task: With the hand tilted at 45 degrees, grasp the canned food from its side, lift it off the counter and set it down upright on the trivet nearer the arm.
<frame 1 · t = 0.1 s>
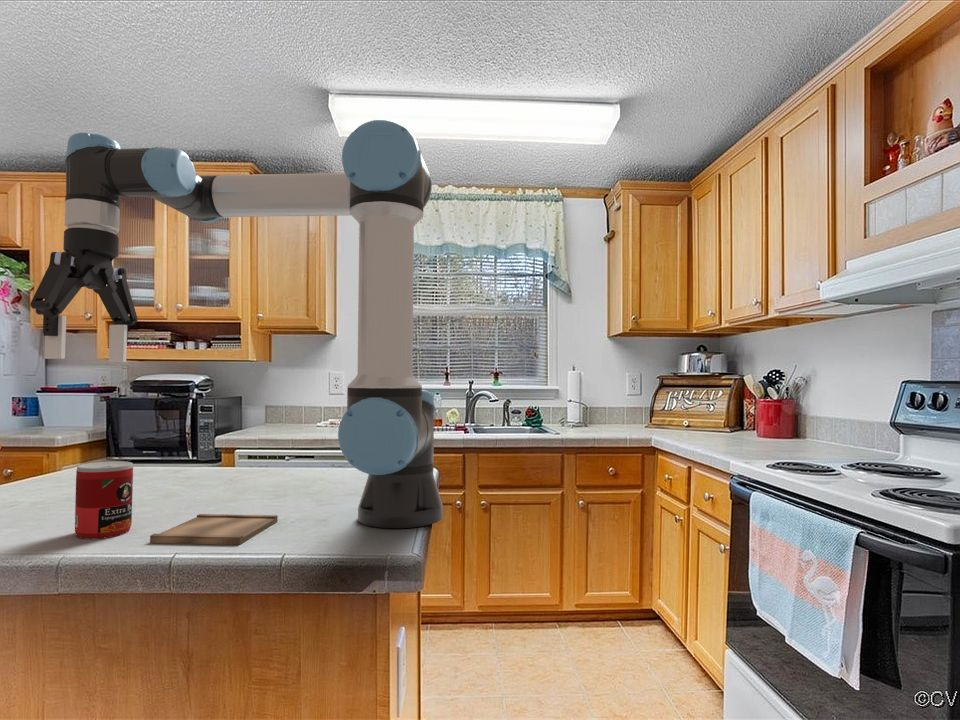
hand: (88, 360, 94), 28 cm above the table, tool pointing down, fingers open, 13 cm apart
canned food: (103, 534, 93), on the table
trivet: (218, 531, 94), on the table
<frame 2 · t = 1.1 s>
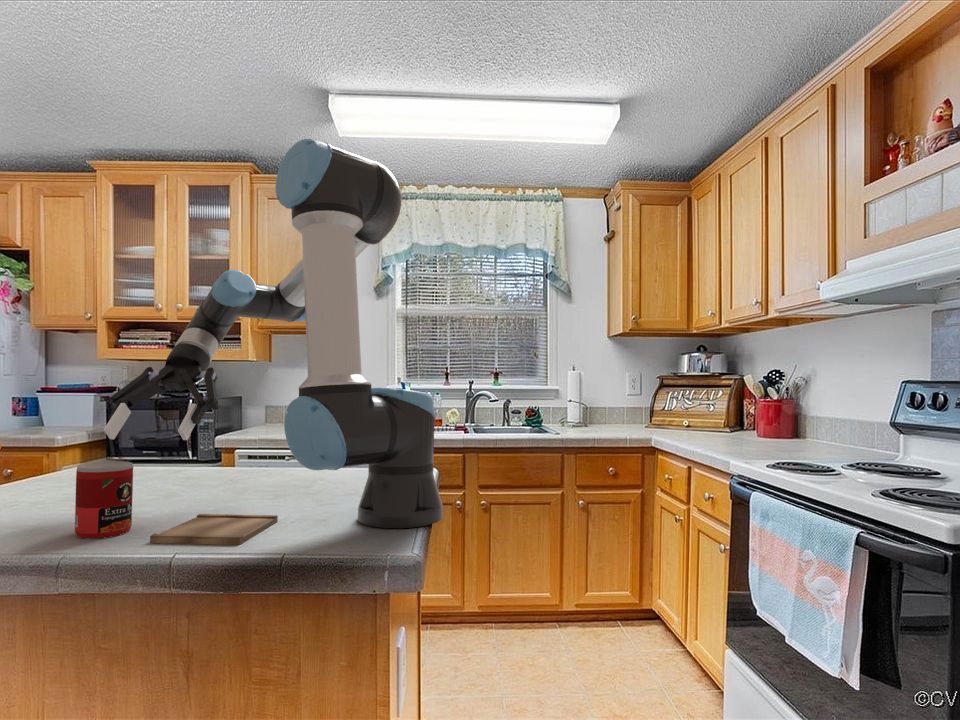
hand: (145, 435, 103), 15 cm above the table, tool tilted 45°, fingers open, 13 cm apart
nothing on the table moved.
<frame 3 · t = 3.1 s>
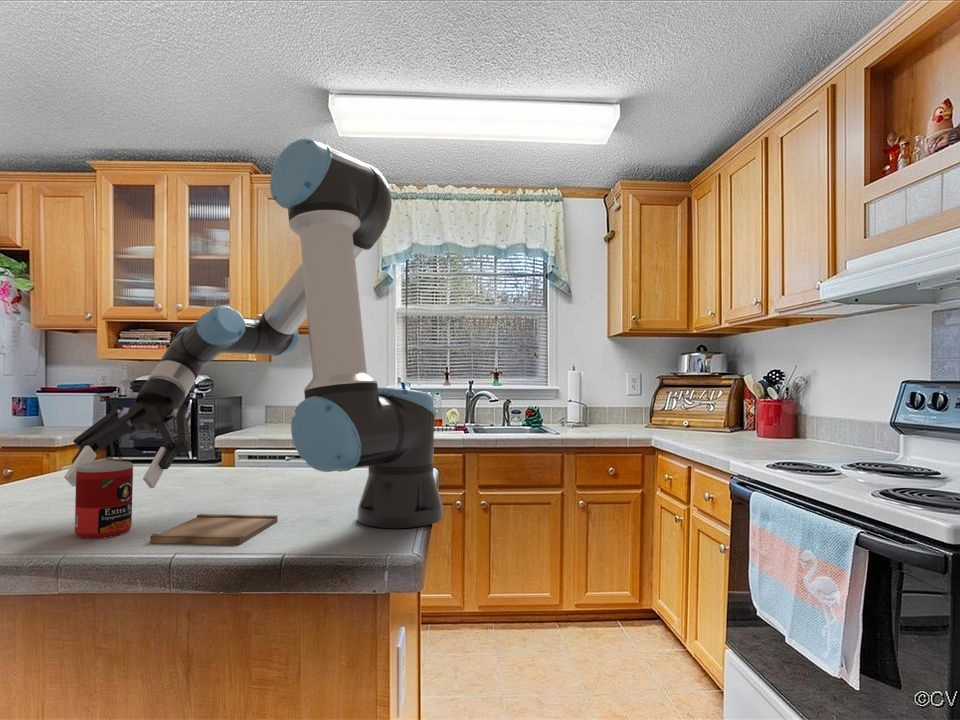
hand: (109, 482, 96), 8 cm above the table, tool tilted 45°, fingers open, 13 cm apart
nothing on the table moved.
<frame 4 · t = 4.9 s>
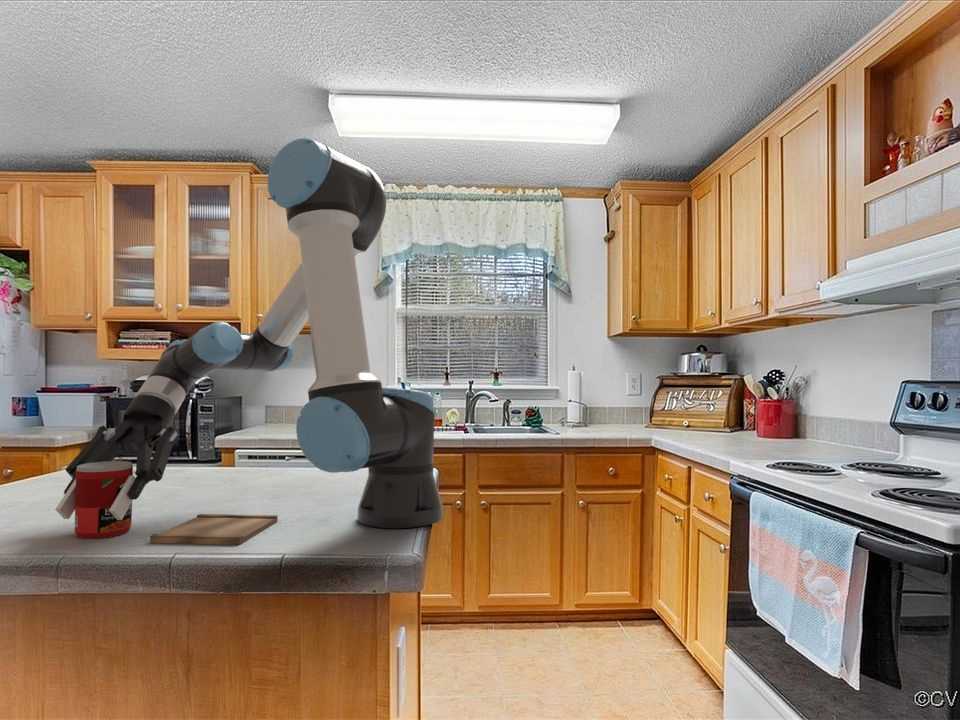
hand: (88, 514, 90), 4 cm above the table, tool tilted 45°, fingers closed on canned food, 8 cm apart
canned food: (103, 533, 93), on the table, touching gripper
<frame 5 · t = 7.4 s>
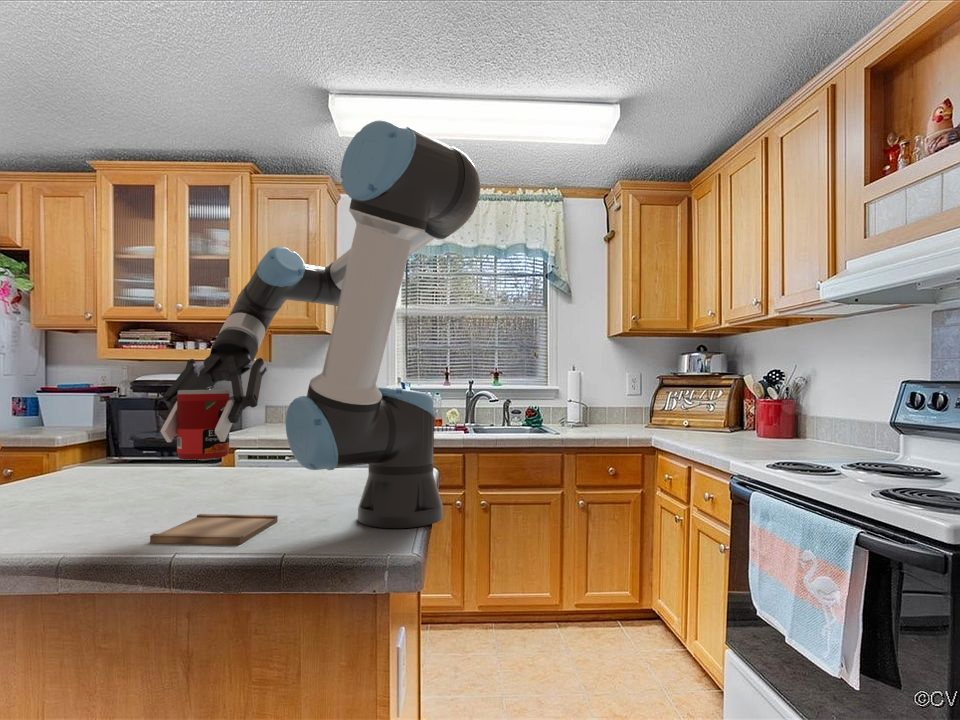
hand: (192, 436, 91), 16 cm above the table, tool tilted 45°, fingers closed on canned food, 8 cm apart
canned food: (203, 457, 94), point 12 cm above the table, touching gripper
when the fingers open (6 cm above the table, at t = 10.0 s): canned food drops 1 cm, resting on trivet.
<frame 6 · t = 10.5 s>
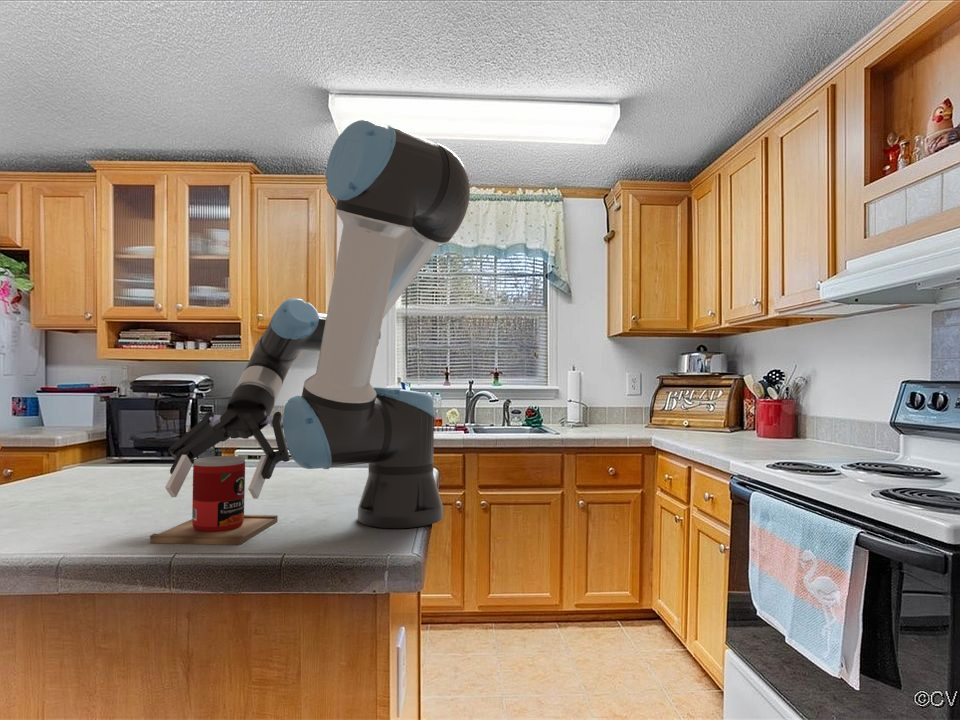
hand: (211, 493, 92), 7 cm above the table, tool tilted 45°, fingers open, 13 cm apart
canned food: (218, 527, 94), point 1 cm above the table, touching trivet
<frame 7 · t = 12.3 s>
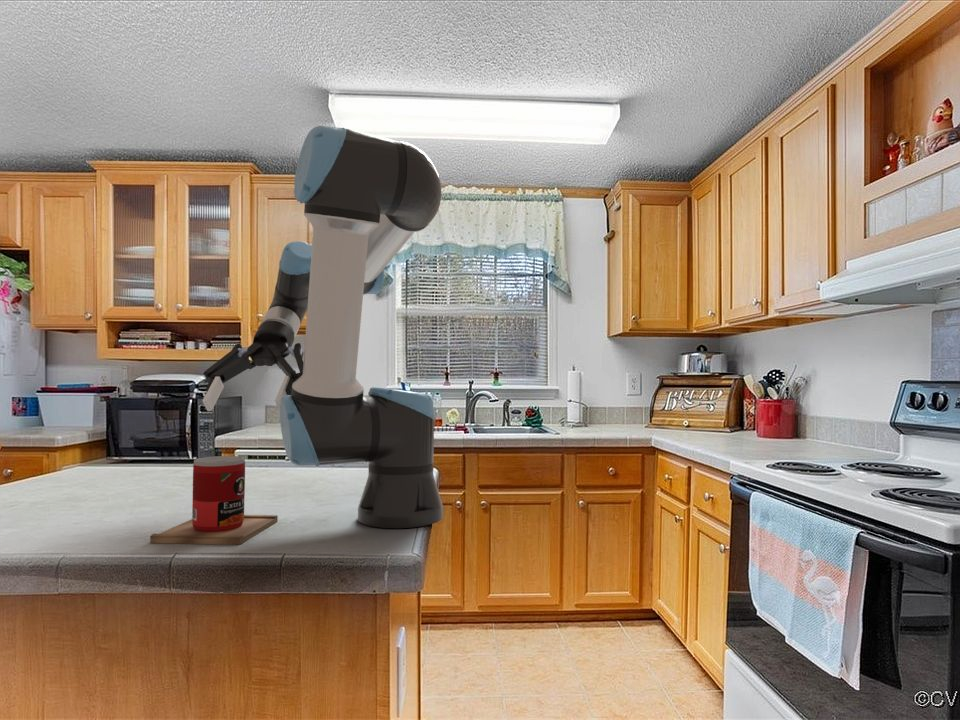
hand: (242, 406, 106), 20 cm above the table, tool tilted 45°, fingers open, 13 cm apart
nothing on the table moved.
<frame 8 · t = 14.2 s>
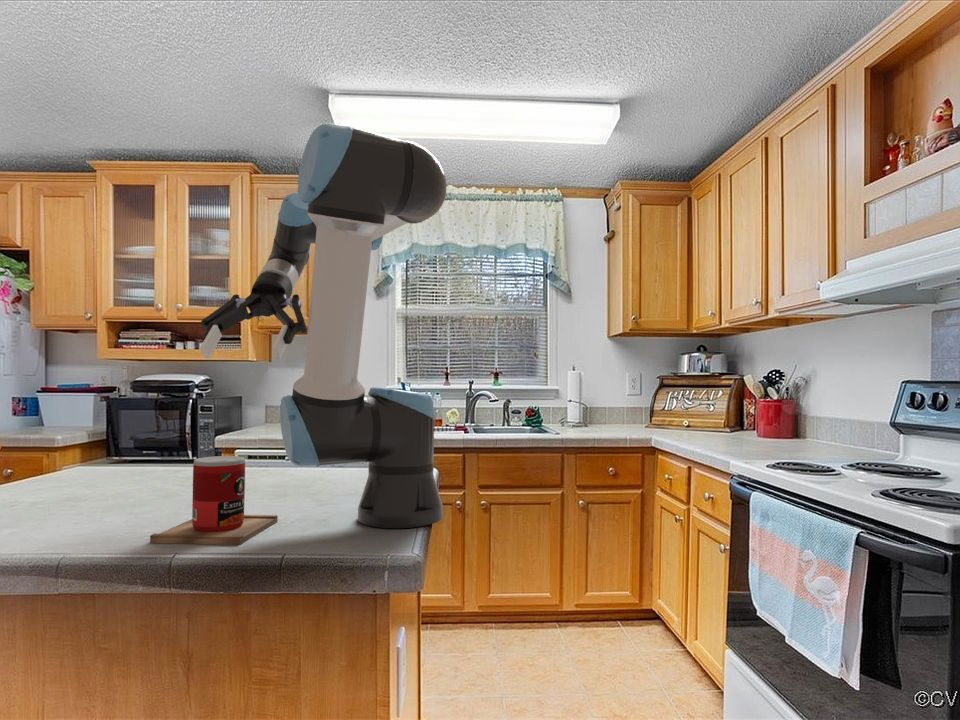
hand: (240, 353, 106), 30 cm above the table, tool tilted 45°, fingers open, 13 cm apart
nothing on the table moved.
at the end: canned food inside the target area on the trivet (0.1 cm from its centre), point 0.6 cm above the trivet's base; canned food tilted 0°; the gripper is holding nothing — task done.
